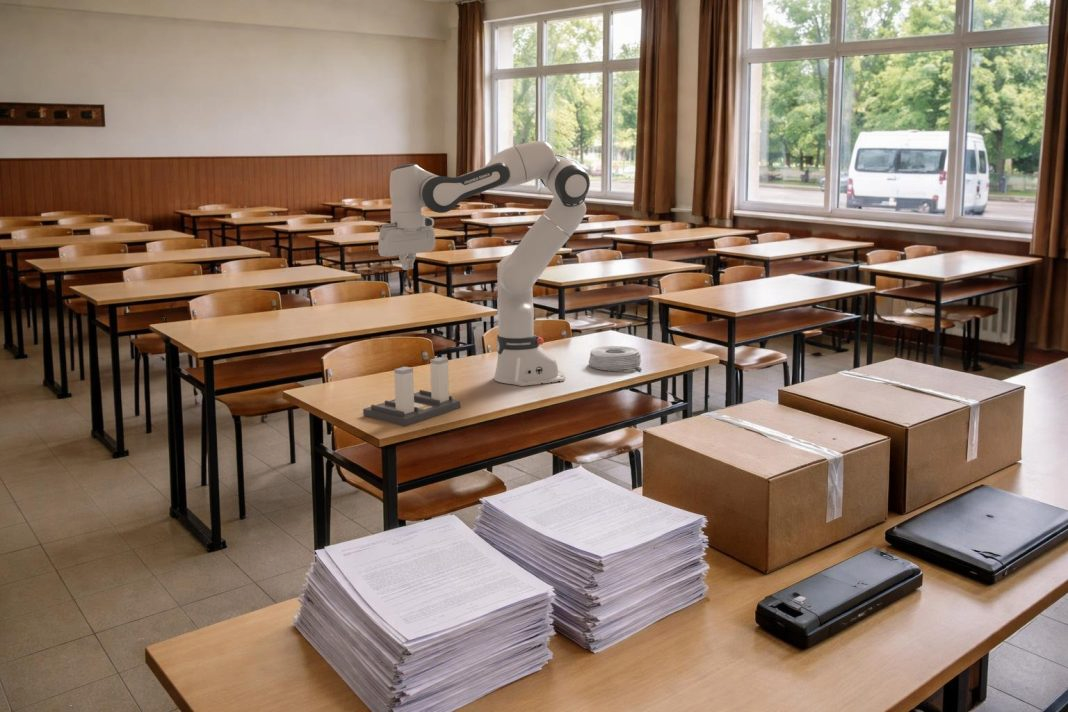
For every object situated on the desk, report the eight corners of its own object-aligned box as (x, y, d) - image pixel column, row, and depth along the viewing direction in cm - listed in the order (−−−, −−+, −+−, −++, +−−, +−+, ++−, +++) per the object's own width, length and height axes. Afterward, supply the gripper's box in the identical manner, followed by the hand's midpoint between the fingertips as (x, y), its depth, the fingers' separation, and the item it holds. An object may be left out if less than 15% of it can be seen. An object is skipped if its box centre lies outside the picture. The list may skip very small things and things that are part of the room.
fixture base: (363, 415, 256) (363, 404, 255) (418, 398, 273) (418, 388, 272) (405, 426, 246) (405, 414, 246) (460, 407, 264) (460, 396, 263)
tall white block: (431, 401, 262) (430, 359, 259) (440, 398, 265) (440, 357, 262) (439, 403, 260) (438, 361, 257) (448, 399, 263) (448, 358, 260)
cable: (643, 373, 303) (643, 355, 302) (589, 373, 304) (589, 355, 302) (638, 361, 320) (639, 344, 319) (587, 360, 321) (587, 343, 319)
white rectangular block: (395, 412, 251) (394, 369, 248) (406, 409, 254) (404, 366, 251) (403, 414, 249) (402, 370, 246) (414, 411, 252) (413, 368, 249)
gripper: (388, 224, 259) (390, 274, 262) (437, 219, 275) (439, 266, 278) (372, 223, 262) (374, 272, 265) (422, 218, 278) (423, 264, 281)
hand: (407, 269), depth 272 cm, fingers closed
